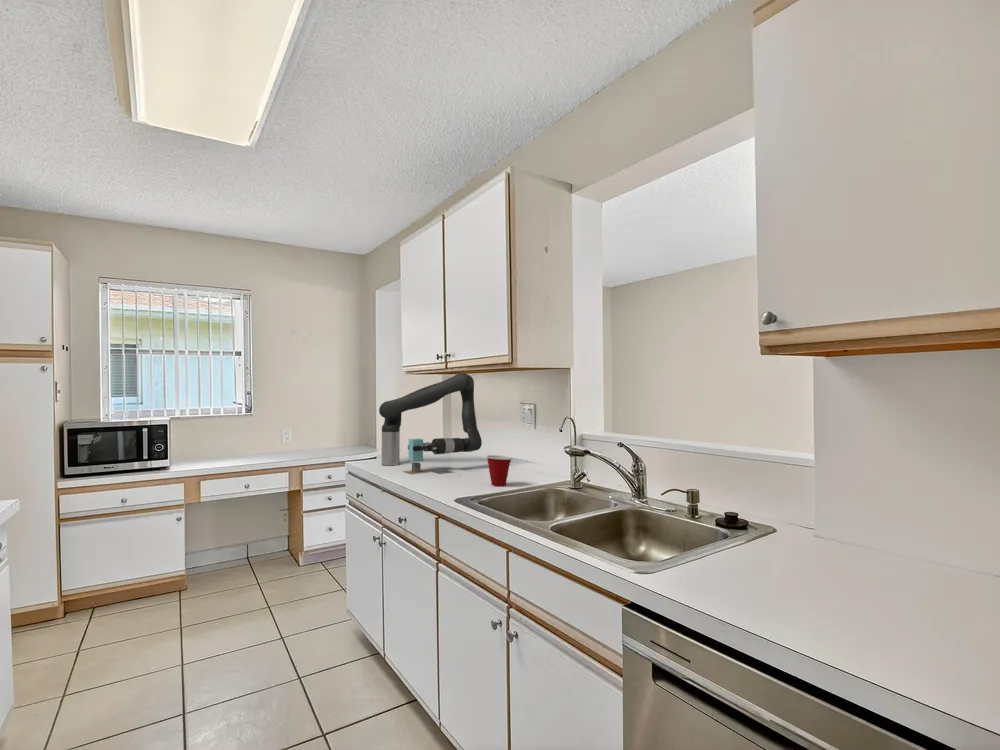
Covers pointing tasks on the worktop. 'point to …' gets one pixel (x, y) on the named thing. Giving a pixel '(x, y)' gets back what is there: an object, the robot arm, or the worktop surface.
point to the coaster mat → (443, 472)
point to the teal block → (415, 455)
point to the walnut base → (416, 469)
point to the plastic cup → (498, 469)
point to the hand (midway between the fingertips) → (410, 448)
